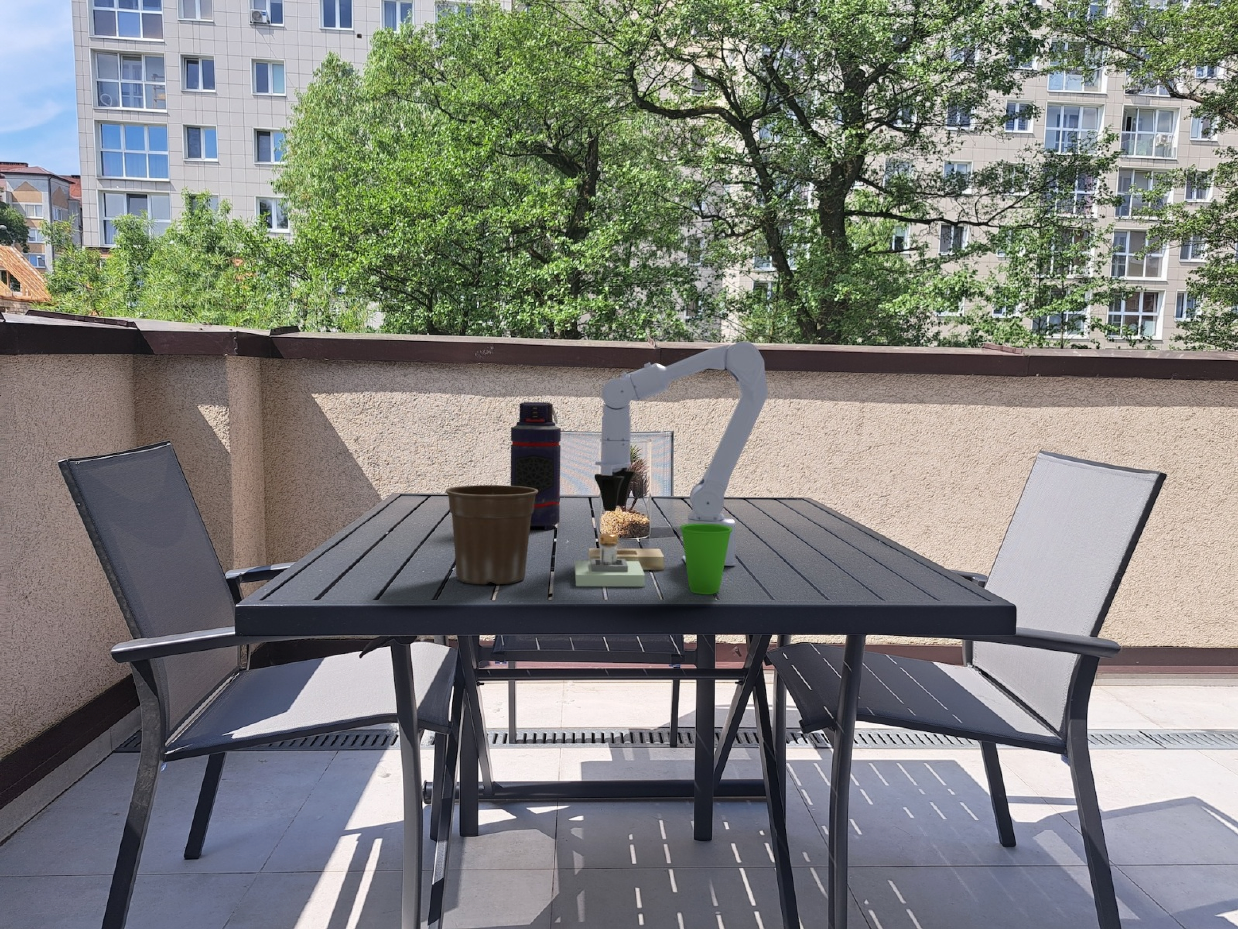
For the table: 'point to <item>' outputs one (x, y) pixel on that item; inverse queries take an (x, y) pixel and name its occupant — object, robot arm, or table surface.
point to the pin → (608, 548)
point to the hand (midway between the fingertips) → (614, 508)
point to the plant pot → (491, 532)
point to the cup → (705, 555)
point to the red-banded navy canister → (538, 460)
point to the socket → (609, 573)
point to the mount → (636, 557)
